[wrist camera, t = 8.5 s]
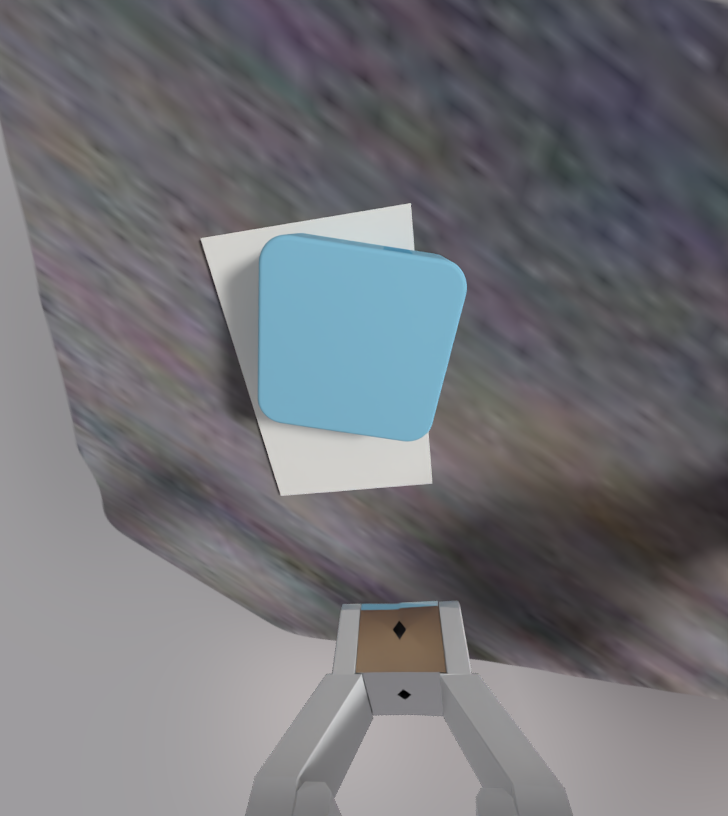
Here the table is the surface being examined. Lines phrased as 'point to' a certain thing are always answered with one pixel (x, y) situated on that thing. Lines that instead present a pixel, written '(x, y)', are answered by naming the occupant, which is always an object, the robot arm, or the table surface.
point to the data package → (354, 334)
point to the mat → (238, 292)
